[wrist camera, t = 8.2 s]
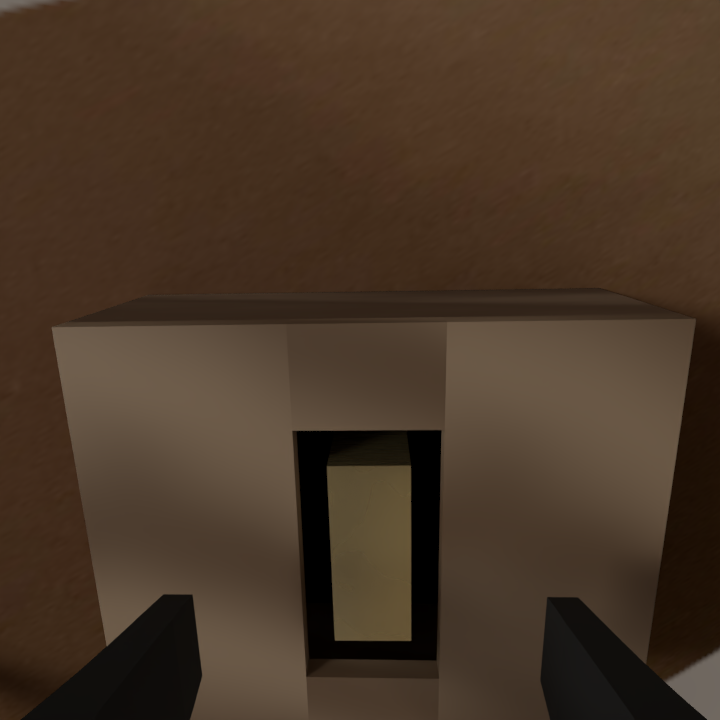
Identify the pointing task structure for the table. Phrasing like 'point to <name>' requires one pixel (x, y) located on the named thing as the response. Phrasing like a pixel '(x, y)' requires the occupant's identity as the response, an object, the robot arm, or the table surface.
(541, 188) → the table surface
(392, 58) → the table surface
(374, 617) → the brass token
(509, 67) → the table surface
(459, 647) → the beige block with hole
